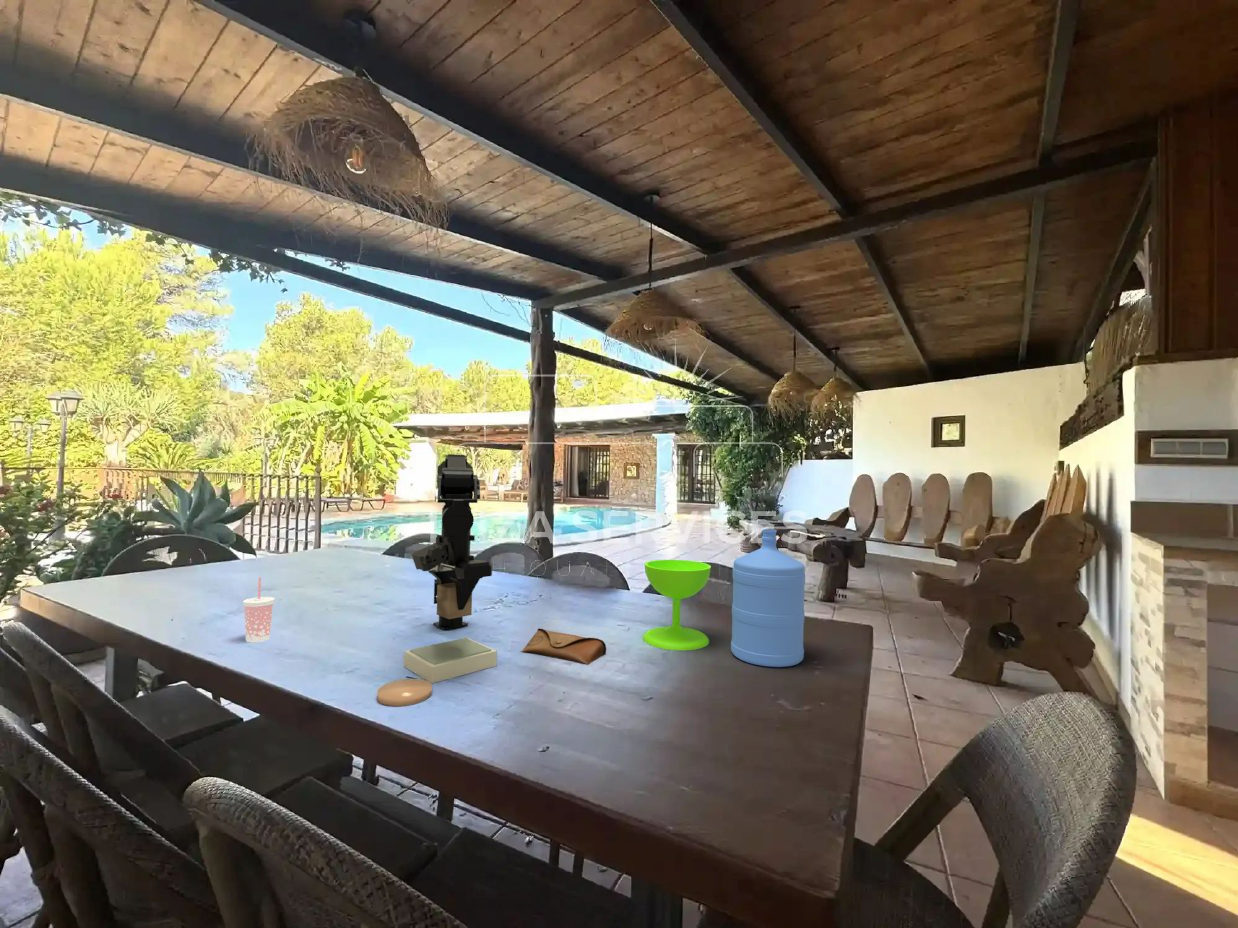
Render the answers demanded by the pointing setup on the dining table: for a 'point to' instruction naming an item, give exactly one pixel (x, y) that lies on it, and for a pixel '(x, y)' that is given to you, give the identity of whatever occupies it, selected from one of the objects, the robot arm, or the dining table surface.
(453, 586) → the block
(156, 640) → the dining table surface
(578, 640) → the sunglasses case
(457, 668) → the base
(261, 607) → the beverage cup
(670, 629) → the wineglass
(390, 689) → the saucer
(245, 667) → the dining table surface
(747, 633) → the water jug
